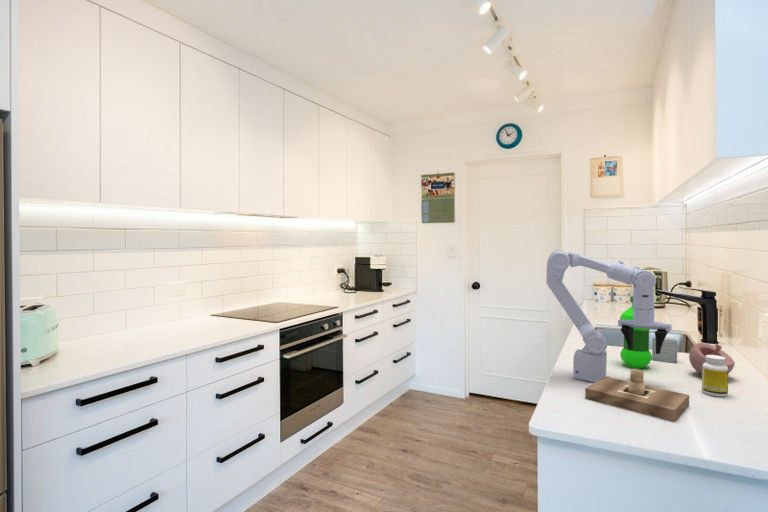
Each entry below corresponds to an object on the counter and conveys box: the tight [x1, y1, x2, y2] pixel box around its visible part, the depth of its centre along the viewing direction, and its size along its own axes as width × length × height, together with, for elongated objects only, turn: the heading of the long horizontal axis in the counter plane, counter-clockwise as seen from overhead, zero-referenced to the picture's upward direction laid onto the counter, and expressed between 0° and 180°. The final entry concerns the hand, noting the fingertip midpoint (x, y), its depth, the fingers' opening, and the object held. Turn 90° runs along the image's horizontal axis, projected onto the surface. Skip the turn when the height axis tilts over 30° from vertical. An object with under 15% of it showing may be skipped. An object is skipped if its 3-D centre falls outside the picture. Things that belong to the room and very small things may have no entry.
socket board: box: [584, 376, 690, 422], centre depth 123 cm, size 22×15×3 cm
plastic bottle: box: [619, 295, 652, 370], centre depth 156 cm, size 10×10×25 cm
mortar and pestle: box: [688, 342, 736, 375], centre depth 144 cm, size 12×12×12 cm
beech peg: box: [628, 368, 646, 396], centre depth 123 cm, size 4×4×9 cm
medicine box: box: [651, 335, 678, 364], centre depth 164 cm, size 8×4×9 cm, turn 58°
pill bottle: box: [701, 355, 729, 398], centre depth 129 cm, size 6×6×11 cm
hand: (644, 351), depth 138 cm, fingers open, 7 cm apart
